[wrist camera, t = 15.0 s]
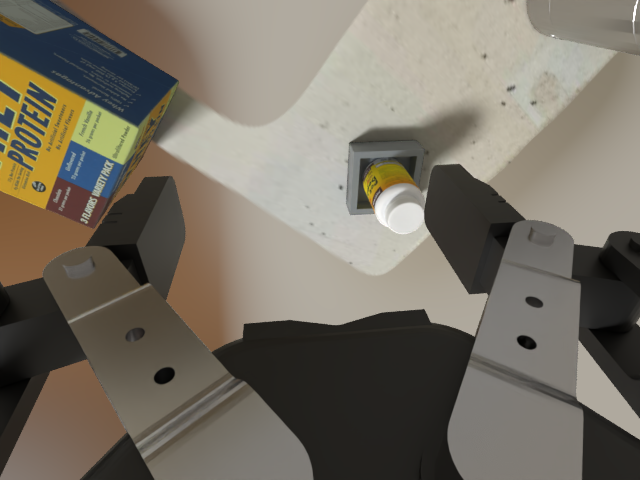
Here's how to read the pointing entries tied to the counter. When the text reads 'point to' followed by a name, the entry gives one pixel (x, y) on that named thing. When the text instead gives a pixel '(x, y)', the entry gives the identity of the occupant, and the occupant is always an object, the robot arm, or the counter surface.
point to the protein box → (71, 110)
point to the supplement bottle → (394, 195)
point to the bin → (368, 152)
